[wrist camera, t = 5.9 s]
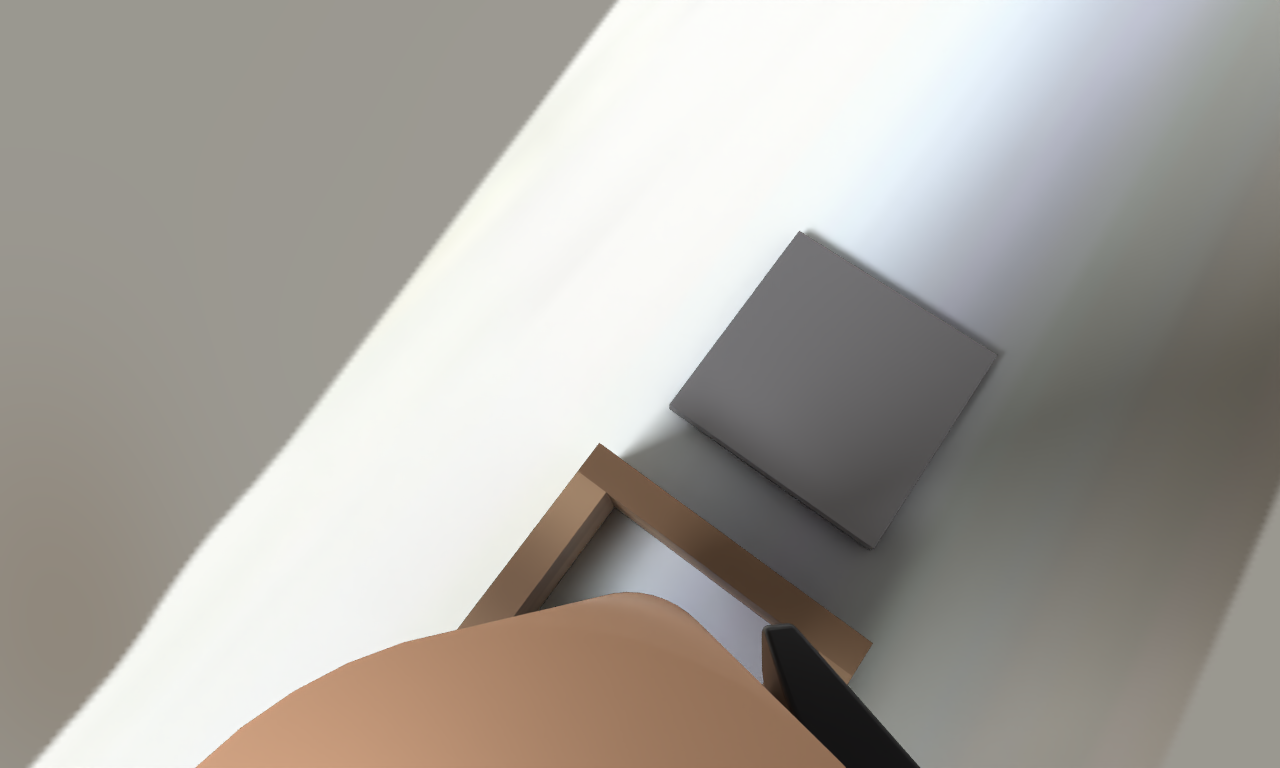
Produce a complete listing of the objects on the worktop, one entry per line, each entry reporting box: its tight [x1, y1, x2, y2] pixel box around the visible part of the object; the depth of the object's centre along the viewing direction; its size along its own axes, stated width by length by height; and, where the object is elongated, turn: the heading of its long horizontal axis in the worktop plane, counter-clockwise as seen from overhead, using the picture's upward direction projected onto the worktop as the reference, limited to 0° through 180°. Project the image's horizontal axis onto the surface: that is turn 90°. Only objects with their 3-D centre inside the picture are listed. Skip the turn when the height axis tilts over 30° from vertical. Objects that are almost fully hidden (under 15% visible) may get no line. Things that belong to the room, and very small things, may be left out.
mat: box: [669, 231, 997, 549], centre depth 24 cm, size 8×8×1 cm
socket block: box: [457, 443, 873, 687], centre depth 20 cm, size 9×9×4 cm
